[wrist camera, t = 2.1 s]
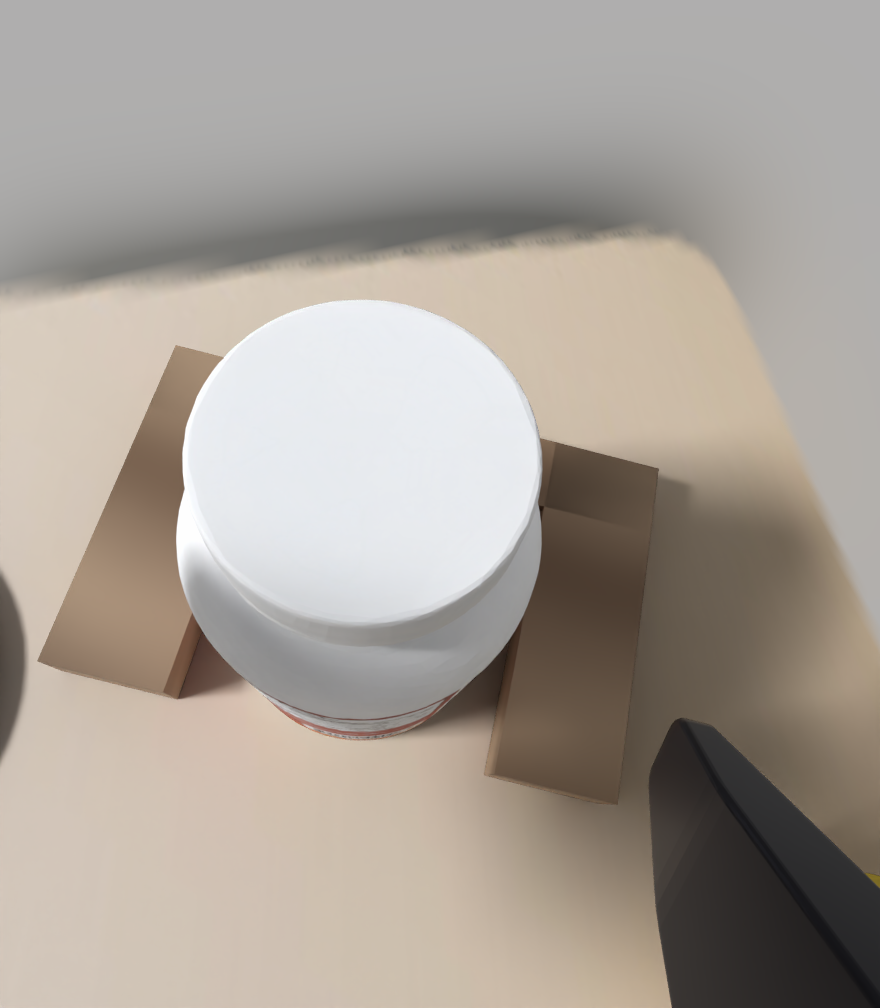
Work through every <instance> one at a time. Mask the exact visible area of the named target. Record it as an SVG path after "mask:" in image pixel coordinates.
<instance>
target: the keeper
mask: <svg viewBox="0 0 880 1008" xmlns="http://www.w3.org/2000/svg"><path fill="white" fill-rule="evenodd" d="M223 358H224V357H220V356H216V355H212V354H208V353H204V352H200V351H196V350H192V349H189V348H185V347H181V346H177V345H176V346H175V348H174V351H173V353H172V355H171V357H170V360H169V362H168V364H167V367H166V369H165V371H164V373H163V376H162V378H161V380H160V382H159V385H158V387H157V389H156V392H155V394H154V396H153V398H152V401H151V403H150V405H149V408H148V410H147V412H146V414H145V417H144V419H143V421H142V424H141V426H140V428H139V430H138V433H137V435H136V437H135V440H134V442H133V444H132V446H131V449H130V451H129V453H128V455H127V458H126V460H125V462H124V465H123V467H122V469H121V471H120V474H119V476H118V478H117V481H116V483H115V485H114V487H113V490H112V492H111V494H110V497H109V499H108V501H107V503H106V506H105V508H104V510H103V512H102V515H101V517H100V519H99V522H98V524H97V526H96V528H95V531H94V533H93V535H92V538H91V540H90V542H89V544H88V547H87V549H86V551H85V554H84V556H83V558H82V560H81V563H80V565H79V567H78V570H77V572H76V574H75V576H74V579H73V581H72V583H71V585H70V588H69V590H68V592H67V595H66V597H65V599H64V601H63V604H62V606H61V608H60V611H59V613H58V615H57V617H56V620H55V622H54V624H53V627H52V629H51V631H50V633H49V636H48V638H47V640H46V642H45V645H44V647H43V649H42V652H41V654H40V656H39V658H38V662H41V663H44V664H46V665H49V666H51V667H54V668H56V669H59V670H61V671H65V672H69V673H73V674H77V675H81V676H85V677H89V678H93V679H97V680H101V681H105V682H109V683H113V684H118V685H122V686H126V687H130V688H134V689H138V690H142V691H146V692H150V693H154V694H158V695H162V696H166V697H170V698H174V699H178V697H179V694H180V691H181V688H182V686H183V683H184V680H185V677H186V674H187V672H188V669H189V666H190V663H191V660H192V658H193V655H194V652H195V649H196V646H197V644H198V641H199V638H200V635H201V632H202V629H201V628H200V626H199V624H198V623H197V621H196V619H195V617H194V615H193V613H192V611H191V609H190V606H189V604H188V601H187V599H186V596H185V593H184V590H183V586H182V583H181V579H180V575H179V568H178V560H177V546H176V534H177V522H178V515H179V508H180V505H181V501H182V497H183V493H184V490H185V487H184V479H183V453H182V452H183V446H184V439H185V431H186V426H187V422H188V419H189V417H190V414H191V412H192V409H193V406H194V404H195V401H196V398H197V396H198V394H199V392H200V390H201V388H202V386H203V385H204V383H205V382H206V380H207V379H208V377H209V376H210V374H211V373H212V371H213V370H214V368H215V367H216V366H217V365H218V363H219V362H220V361H221V360H222V359H223ZM540 443H541V449H542V479H541V488H540V494H539V499H538V506H539V511H540V518H541V538H542V546H541V559H540V565H539V571H538V575H537V579H536V582H535V585H534V588H533V591H532V594H531V597H530V600H529V603H528V606H527V608H526V610H525V613H524V615H523V617H522V619H521V621H520V623H519V624H518V626H517V628H516V630H515V632H514V633H513V635H512V636H511V638H510V642H509V647H508V652H507V658H506V663H505V668H504V673H503V679H502V684H501V689H500V694H499V699H498V705H497V710H496V715H495V720H494V726H493V731H492V736H491V741H490V746H489V752H488V757H487V762H486V767H485V773H484V775H485V776H489V777H493V778H497V779H501V780H505V781H509V782H513V783H517V784H522V785H526V786H530V787H534V788H538V789H542V790H546V791H550V792H554V793H558V794H562V795H566V796H570V797H574V798H578V799H582V800H586V801H590V802H594V803H600V804H615V805H617V804H618V796H619V788H620V779H621V771H622V763H623V755H624V747H625V739H626V731H627V723H628V714H629V706H630V698H631V690H632V682H633V674H634V666H635V658H636V650H637V641H638V633H639V625H640V617H641V609H642V601H643V593H644V585H645V576H646V568H647V560H648V552H649V544H650V536H651V528H652V520H653V512H654V503H655V495H656V487H657V479H658V471H659V469H658V468H654V467H650V466H646V465H642V464H638V463H634V462H630V461H627V460H623V459H619V458H615V457H611V456H607V455H603V454H599V453H595V452H591V451H587V450H584V449H580V448H576V447H572V446H568V445H564V444H560V443H556V442H552V441H548V440H544V439H541V438H540Z"/></svg>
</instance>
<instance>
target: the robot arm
mask: <svg viewBox="0 0 880 1008" xmlns="http://www.w3.org/2000/svg"><path fill="white" fill-rule="evenodd" d="M649 804H650V822H651V840H652V858H653V876H654V892H655V904H656V912H657V920H658V927H659V933H660V939H661V945H662V951H663V957H664V963H665V969H666V975H667V981H668V987H669V993H670V999H671V1005H672V1008H880V888H879V887H878V886H877V885H876V884H875V883H874V882H873V881H872V880H871V879H870V878H869V877H868V876H867V875H866V874H865V873H864V872H863V871H862V870H861V869H860V868H859V867H858V866H856V865H855V864H854V863H853V862H852V861H851V860H850V859H849V858H848V857H847V856H846V855H845V854H844V853H843V852H842V851H841V850H840V849H839V848H838V847H837V846H836V845H835V844H834V843H833V842H832V841H831V840H830V839H829V838H828V837H827V836H826V835H824V834H823V833H822V832H821V831H820V830H819V829H818V828H817V827H816V826H815V825H814V824H813V823H812V822H811V821H810V820H809V819H808V818H807V817H806V816H805V815H804V814H803V813H802V812H801V811H800V810H799V809H798V808H797V807H796V806H795V805H793V804H792V803H791V802H790V801H789V800H788V799H787V798H786V797H785V796H784V795H783V794H782V793H781V792H780V791H779V790H778V789H777V788H776V787H775V786H774V785H773V784H772V783H771V782H770V781H769V780H768V779H767V778H766V777H765V776H764V775H762V774H761V773H760V772H759V771H758V770H757V769H756V768H755V767H754V766H753V765H752V764H751V763H750V762H749V761H748V760H747V759H746V758H745V757H744V756H743V755H742V754H741V753H740V752H739V751H738V750H737V749H736V748H735V747H734V746H733V745H731V744H730V743H729V742H728V741H727V740H726V739H725V738H724V737H723V736H722V735H721V734H720V733H719V732H718V731H717V730H716V729H715V728H714V727H713V726H711V725H709V724H706V723H702V722H697V721H693V720H689V719H685V718H680V719H677V720H675V722H674V723H673V724H672V725H671V727H670V729H669V731H668V733H667V735H666V738H665V740H664V742H663V744H662V746H661V748H660V750H659V753H658V755H657V757H656V759H655V761H654V763H653V766H652V768H651V772H650V776H649Z"/></svg>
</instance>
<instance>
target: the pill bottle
mask: <svg viewBox="0 0 880 1008" xmlns="http://www.w3.org/2000/svg"><path fill="white" fill-rule="evenodd" d="M182 453H183V479H184V487H185V490H184V493H183V497H182V501H181V505H180V508H179V515H178V522H177V534H176V546H177V560H178V568H179V575H180V579H181V583H182V586H183V590H184V593H185V596H186V599H187V601H188V604H189V606H190V609H191V611H192V613H193V615H194V617H195V619H196V621H197V623H198V624H199V626H200V628H201V629H202V631H203V633H204V634H205V636H206V638H207V639H208V640H209V642H210V643H211V644H212V646H213V647H214V648H215V649H216V650H217V652H218V653H219V654H220V655H221V656H222V657H223V658H224V660H225V661H226V662H227V663H228V664H229V665H230V666H231V667H232V668H233V669H234V670H235V671H236V672H237V673H238V674H239V675H241V676H242V677H243V678H244V679H245V680H247V681H248V682H249V683H250V684H251V685H252V686H254V687H255V688H256V689H257V690H258V691H259V692H260V693H261V694H262V695H263V696H265V697H266V698H267V699H268V700H269V701H270V702H271V703H272V704H274V705H275V706H276V707H277V708H278V709H279V710H280V711H281V712H283V713H284V714H285V715H286V716H288V717H289V718H291V719H292V720H294V721H295V722H297V723H298V724H300V725H302V726H304V727H306V728H308V729H310V730H312V731H315V732H317V733H320V734H323V735H326V736H330V737H334V738H339V739H345V740H358V741H363V740H375V739H382V738H387V737H391V736H394V735H397V734H400V733H403V732H405V731H408V730H410V729H412V728H414V727H416V726H418V725H420V724H421V723H423V722H425V721H426V720H428V719H429V718H430V717H432V716H433V715H434V714H435V713H437V712H438V711H439V710H440V709H441V708H442V707H443V706H445V705H446V704H447V703H448V702H449V701H450V700H451V699H452V698H453V697H454V696H456V695H457V694H458V693H459V692H460V691H461V690H462V689H463V688H464V687H465V686H466V685H467V684H469V682H470V681H472V680H473V679H474V678H475V677H476V676H477V675H478V674H479V673H480V672H482V671H483V670H484V669H486V668H487V666H488V665H489V664H490V663H491V662H492V661H493V660H494V659H495V657H496V656H497V655H498V654H499V653H500V652H501V651H502V649H503V648H504V646H505V645H506V643H507V642H508V641H509V639H510V638H511V636H512V635H513V633H514V632H515V630H516V628H517V626H518V624H519V623H520V621H521V619H522V617H523V615H524V613H525V610H526V608H527V606H528V603H529V600H530V597H531V594H532V591H533V588H534V585H535V582H536V579H537V575H538V571H539V565H540V559H541V546H542V538H541V518H540V511H539V506H538V499H539V494H540V488H541V479H542V449H541V443H540V437H539V430H538V427H537V423H536V420H535V417H534V414H533V411H532V408H531V406H530V403H529V401H528V399H527V398H526V396H525V394H524V392H523V390H522V388H521V386H520V385H519V383H518V381H517V380H516V378H515V377H514V375H513V374H512V372H511V371H510V370H509V369H508V367H507V366H506V365H505V363H504V362H503V361H502V360H501V359H500V358H499V357H498V356H497V355H496V354H495V353H494V352H493V350H491V349H490V348H489V347H488V346H487V345H486V344H484V343H483V342H482V341H481V340H479V339H478V338H477V337H475V336H474V335H473V334H471V333H470V332H469V331H467V330H465V329H464V328H462V327H460V326H458V325H457V324H455V323H453V322H451V321H450V320H448V319H445V318H443V317H441V316H439V315H436V314H434V313H432V312H429V311H427V310H423V309H420V308H416V307H412V306H409V305H405V304H400V303H396V302H390V301H378V300H344V301H333V302H326V303H321V304H316V305H312V306H309V307H305V308H302V309H299V310H296V311H292V312H290V313H288V314H285V315H283V316H281V317H278V318H276V319H274V320H272V321H271V322H269V323H267V324H265V325H264V326H262V327H260V328H259V329H257V330H255V331H254V332H252V333H251V334H249V335H248V336H247V337H246V338H245V339H243V340H242V341H241V342H240V343H239V344H238V345H236V346H235V347H233V348H232V349H231V350H230V351H229V353H228V354H227V355H226V356H225V357H224V358H223V359H222V360H221V361H220V362H219V363H218V365H217V366H216V367H215V368H214V370H213V371H212V373H211V374H210V376H209V377H208V379H207V380H206V382H205V383H204V385H203V386H202V388H201V390H200V392H199V394H198V396H197V398H196V401H195V404H194V406H193V409H192V412H191V414H190V417H189V419H188V422H187V426H186V431H185V439H184V446H183V452H182Z"/></svg>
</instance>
